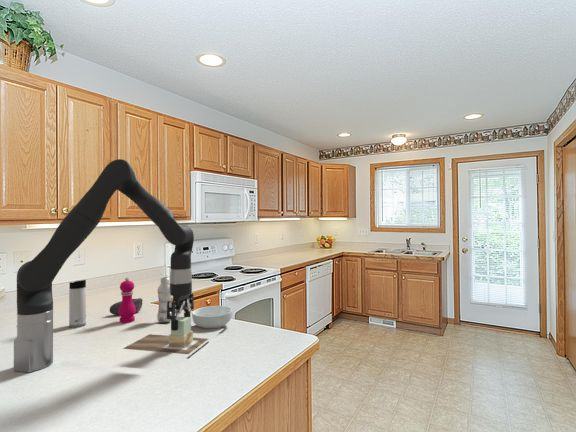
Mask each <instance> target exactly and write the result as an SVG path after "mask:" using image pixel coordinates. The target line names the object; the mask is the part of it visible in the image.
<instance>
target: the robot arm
mask: <svg viewBox="0 0 576 432" xmlns="http://www.w3.org/2000/svg"><path fill="white" fill-rule="evenodd" d="M116 191H118V192H120V193H121V194H122V195H125V196H126V197H127V198H128V199H129V200H131V201H132V202H133V203H134V204H136V206H138V208H139V209H140V210H141V211H142V212H143V213H144V214H145V215H146V216H147V217H148V218H149V219H150V220H151V221H152V222H153V223H154V225H156V226H157V227H158V228H159V231H160V232H161V234H162V235H163V237H164V238H165V239H166V240H167V241H168V242H169V244H171V245H173V246H175V247H174V251H173V252H172V253H171V254H170V255H171V256H170V271H169V284H170V295H172V300H171V301H168V302H167V319H171V321H170V331H171V330H172V331H177V330H178V317H180V314H182V311H183V317H191V314H192V312H193V311H192V310H195V305H194V304H195V303H194V302H195V301H194V293H193V283H192V281H193V277H192V276H193V274H192V259H191V258H192V252H193V248H194V247H193V246H194V241H195V240H194V239H195V238H194V237H195V235H194V231H193V229H192V228H191V226H189V225H184V224H183V225H182V224H181V225H180V224H179V223H178V221H176V217H175V214H174V213H173V212H172V211H171V210H170V209H169V208H168V207H167V206H166V205H165V204H164V203H163V202H162V201H161V200H160V199H158V198H157V197H155V196H154V195H152V194H151V193H150V192H149V191H148V190H146V188H144V186H143V185H142V184H141V183H140V180H139V179H138V178H137V176H136V173H135V171H134V168H133V167H132V165H131V164H130V162H129V161H127V160H125V159H122V158H121V159H120V158H119V159H113V160H111V161H110V162H109V163H108V164H106V165H105V167H104V168H103V170H102V172H100V174H99V176H98V177H97V179H96V180H95V182H94V183H93V184H92V186H91V187H90V188H89V190H87V191H86V193H85V194H84V195H83V196H82V197H81V198H80V199H79V201H78V202H77V204H75V206H73V207H72V208H71V210H69V212H68V213H67V214H66V216H65V217H64V218H63V219H62V221H61V222H60V223H59V224H58V226H57V228H56V230H55V231H54V233H53V234H52V235H51V238H50V240H49V241H48V243H47V244H46V245H45V246H44V247H43V248H42V249H41V251H40V252H39V253H38V254H36V256H35V257H33V259H31V260H30V261H27V262H25V263H23V264H22V265H21V266H20V267H19V268H18V269H17V272H16V273H17V274H16V323H17V324H16V338H15V339H13V371H15V372H23V373H31V372H34V371H38V370H42V369H45V368H47V367H49V366H51V365H52V364H53V363H54V298H53V281H54V280H55V278H56V277H57V276H58V273H60V272H59V271H60V270H61V269H62V268H63V266H64V265H65V262H67V260H68V259H69V257H70V256H72V255H73V253H74V252H75V251H76V250H77V249H78V248H79V247H80V246H81V245H82V244H83V242H84V241H85V240H86V239H87V238H88V237H89V236H90V235H91V234H92V232H93V231H94V230H95V229H96V227H97V226H98V225H99V223H100V221H101V220H102V218H103V216H104V213H105V211H106V209H107V206H108V203H109V201H110V199H111V198H112V196H113V195H114V194H115V193H116ZM170 312H171V315H170Z"/></svg>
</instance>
